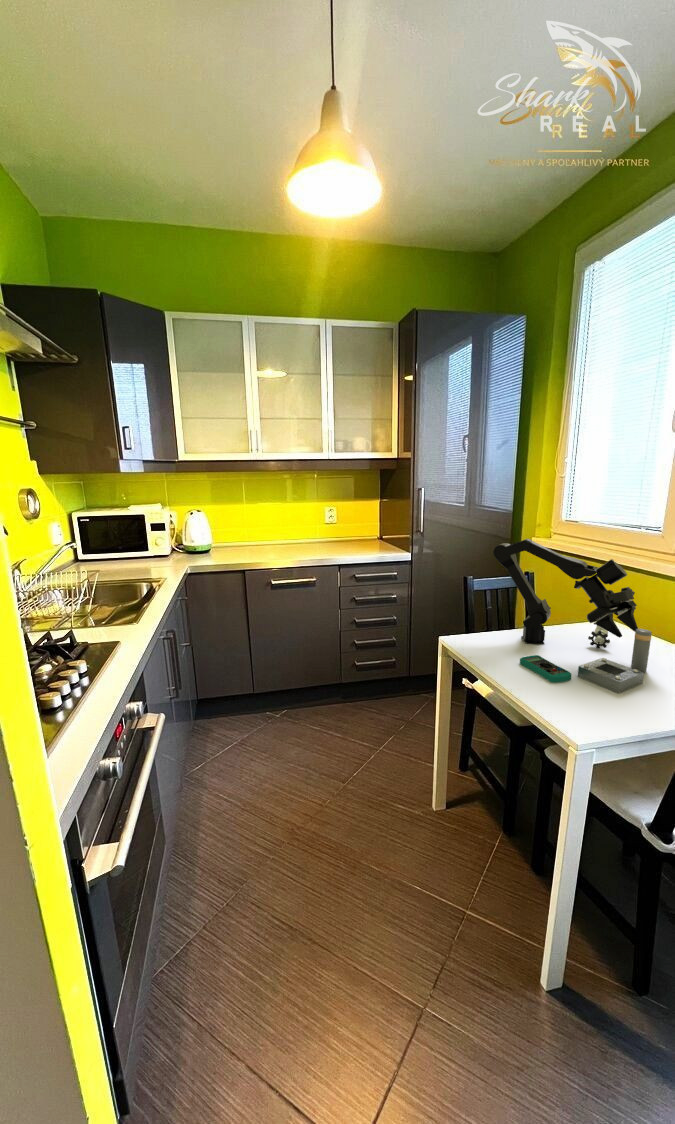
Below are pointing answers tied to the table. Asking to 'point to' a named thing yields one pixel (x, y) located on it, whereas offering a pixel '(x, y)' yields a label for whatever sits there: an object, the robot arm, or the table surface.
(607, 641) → the valve
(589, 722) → the table surface
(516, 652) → the table surface
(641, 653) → the plug
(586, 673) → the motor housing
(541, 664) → the digital multimeter
